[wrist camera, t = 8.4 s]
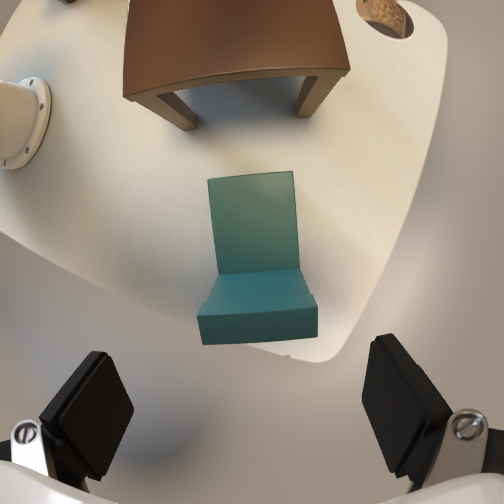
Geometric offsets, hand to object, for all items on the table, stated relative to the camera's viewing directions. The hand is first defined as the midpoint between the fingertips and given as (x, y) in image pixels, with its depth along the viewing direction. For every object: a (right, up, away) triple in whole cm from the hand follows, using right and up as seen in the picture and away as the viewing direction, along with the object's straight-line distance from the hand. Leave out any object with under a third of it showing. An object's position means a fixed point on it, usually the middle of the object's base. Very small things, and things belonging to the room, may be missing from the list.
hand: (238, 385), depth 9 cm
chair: (+1, +7, +17) cm, 18 cm away
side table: (-1, +21, +13) cm, 25 cm away
